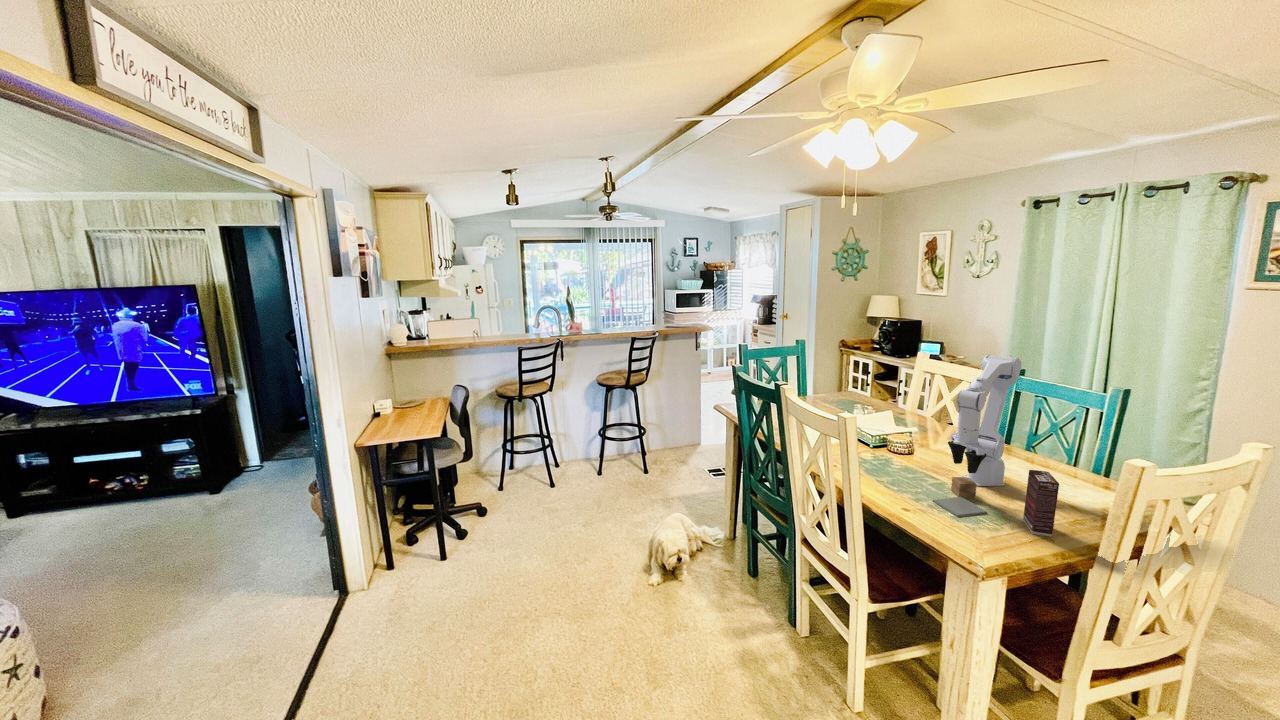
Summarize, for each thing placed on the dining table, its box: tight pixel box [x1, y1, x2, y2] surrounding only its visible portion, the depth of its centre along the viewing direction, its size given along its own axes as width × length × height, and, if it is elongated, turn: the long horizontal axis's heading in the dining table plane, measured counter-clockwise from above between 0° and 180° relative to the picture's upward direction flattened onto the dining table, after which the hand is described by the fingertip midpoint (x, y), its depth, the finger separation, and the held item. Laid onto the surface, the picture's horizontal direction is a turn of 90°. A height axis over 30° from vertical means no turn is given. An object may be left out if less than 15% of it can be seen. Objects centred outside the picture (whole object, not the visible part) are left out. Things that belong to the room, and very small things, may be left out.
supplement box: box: [1022, 469, 1060, 538], centre depth 138 cm, size 9×5×16 cm, turn 157°
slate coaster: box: [932, 496, 988, 518], centre depth 153 cm, size 10×10×1 cm
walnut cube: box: [950, 476, 978, 499], centre depth 161 cm, size 5×5×5 cm
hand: (964, 468), depth 159 cm, fingers open, 7 cm apart
